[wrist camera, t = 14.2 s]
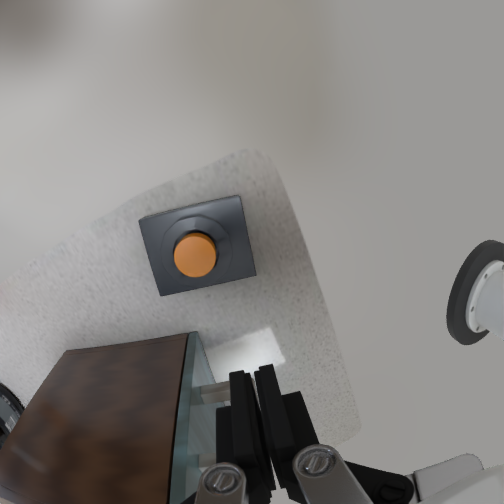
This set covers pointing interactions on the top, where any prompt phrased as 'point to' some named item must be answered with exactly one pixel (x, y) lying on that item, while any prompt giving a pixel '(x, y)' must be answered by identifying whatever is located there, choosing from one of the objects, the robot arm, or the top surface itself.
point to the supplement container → (8, 414)
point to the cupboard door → (196, 421)
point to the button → (195, 255)
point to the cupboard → (99, 428)
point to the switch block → (205, 222)
